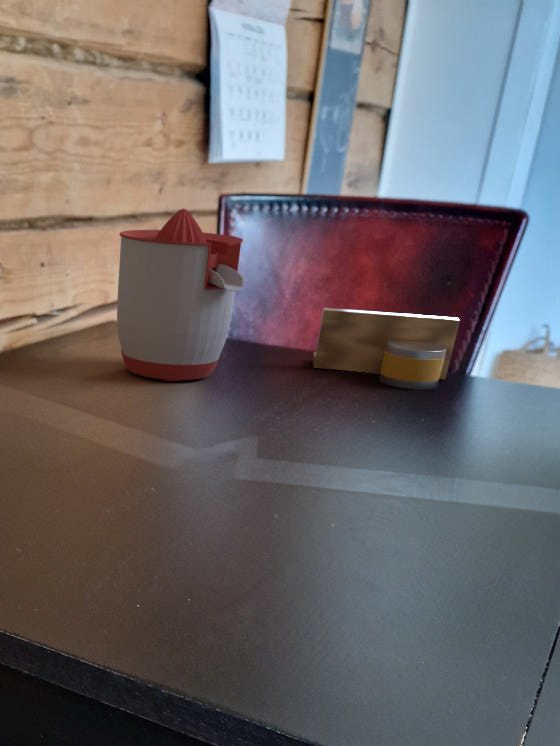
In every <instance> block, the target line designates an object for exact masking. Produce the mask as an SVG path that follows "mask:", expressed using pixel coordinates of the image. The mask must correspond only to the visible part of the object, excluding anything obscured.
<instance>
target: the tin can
mask: <svg viewBox="0 0 560 746" xmlns="http://www.w3.org/2000/svg"><path fill="white" fill-rule="evenodd" d="M445 353H446V347H444V346H442V345H439V344H435V343H431V342H425V341H417V340H391V341H388V342H387V345H386V350H385V353H384V358H383V362H382V367H381V372H380V375H379V378H378V380H379V382H380V383H382V384H383V385H386V386H390V387H393V386H394V387H393V388H397V387H398V388H397V389H404V390H412V389H413V390H414V391H429V390H435V389H436V388H437V387H438V384H439V381H440V380H439V379H440V375H441V371H442V367H443V363H444V359H445Z"/></svg>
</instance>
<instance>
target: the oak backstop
mask: <svg viewBox="0 0 560 746" xmlns="http://www.w3.org/2000/svg"><path fill="white" fill-rule="evenodd" d="M460 322H461V320H460V319H459V317H452V316H441V315H440V316H438V315H428V314H427V315H426V314H425V315H424V314H413V313H398V312H385V311H373V310H362V309H361V310H360V309H359V310H358V309H346V308H334V307H323V308H322V314H321V319H320V323H319V331H318V336H317V342H316V347H315V351H314V352H313V353H312V359H313V361H312V367H313V366H314V367H313V369H314V368H325V369H337V370H347V371H357V372H365V373H364V374H367V373H371V374H370V375H379V374H380V372H381V367H382V362H383V358H384V353H385V350H386V345H387V342H388V341H391V340H417V341H425V342H431V343H435V344H439V345H442V346H444V347H446V353H445V359H444V363H443V367H442V371H441V375H440V379H442V380H441V381H445V380H446V378H447V374H448V370H449V366H450V362H451V358H452V353H453V350H454V346H455V341H456V337H457V334H458V329H459V325H460ZM373 373H374V374H373Z"/></svg>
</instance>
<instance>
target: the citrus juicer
mask: <svg viewBox="0 0 560 746" xmlns="http://www.w3.org/2000/svg"><path fill="white" fill-rule="evenodd" d="M118 235H119V236H120V249H119V250H120V251H119V268H118V281H117V283H118V285H117V300H116V322H117V323H116V324H117V334H118V340H119V346H120V349H121V350H120V353H121V357H122V359H123V363H124V366H125V368H126V370H127V371H129V372H130V373H132V374H135V375H139V376H142V377H146V378H152V379H160V380H162V381H163V380H164V381H163V382H165V381H177V382H179V381H191V380H199V379H204V378H207V377H209V376H211V375H212V373H213V372H214V370H215V368H216V366H217V364H218V362H219V360H220V356H221V353H222V351H223V348H224V346H225V344H226V341H227V340H226V339H227V337H228V333H229V330H230V326H231V321H232V315H233V309H234V299H235V292H236V291H237V292H238V291H241V290H242V289H243V288H244V278H243V275H242V274H240V273H239V272H238V271H239V263H240V257H241V256H240V255H241V249H242V247H241V246H242V244H243V243H244V240H243V238H241V237H237V236H233V235H228V234H220V233H212V232H203V230H202V228H201V227H200V225H199V223H198V222H197V221H196V219H195V218H194V216H193V214H191V213H190V211H189V210H188V209H186V208H181V209H179V210H178V211H176V212H175V213H174V214H173V215H172V216H171V217H170V218H169V219H168V220H167V221H166V222H165V224H164V225H163V226H162V228H161V229H132V230H131V229H130V230H123V231H120V232H119V234H118Z"/></svg>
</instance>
